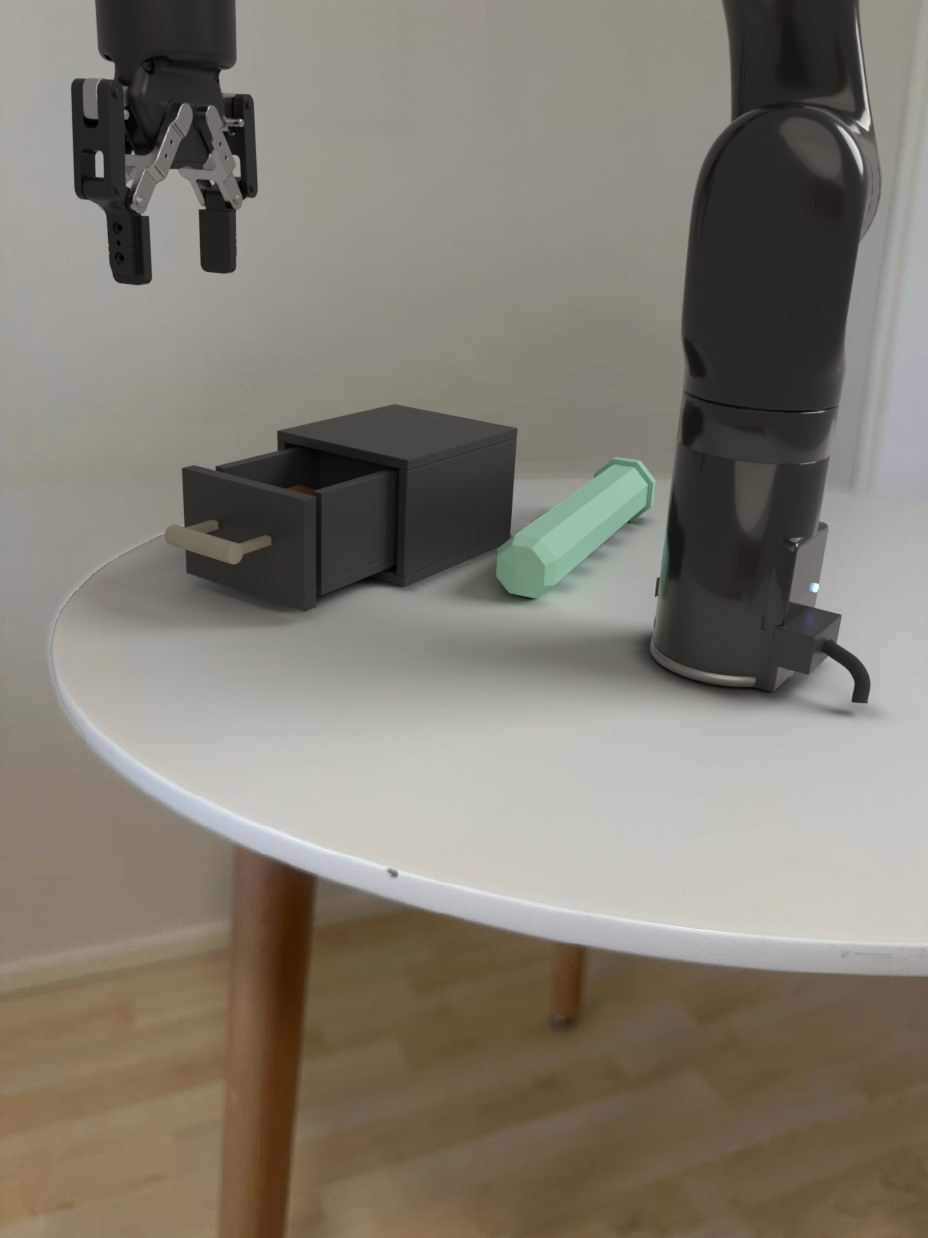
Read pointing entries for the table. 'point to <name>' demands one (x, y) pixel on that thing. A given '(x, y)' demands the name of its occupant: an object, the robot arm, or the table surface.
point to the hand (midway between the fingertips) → (177, 277)
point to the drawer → (289, 523)
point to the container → (574, 528)
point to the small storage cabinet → (429, 480)
